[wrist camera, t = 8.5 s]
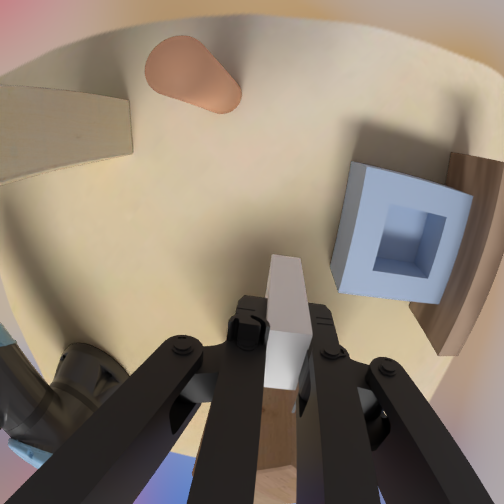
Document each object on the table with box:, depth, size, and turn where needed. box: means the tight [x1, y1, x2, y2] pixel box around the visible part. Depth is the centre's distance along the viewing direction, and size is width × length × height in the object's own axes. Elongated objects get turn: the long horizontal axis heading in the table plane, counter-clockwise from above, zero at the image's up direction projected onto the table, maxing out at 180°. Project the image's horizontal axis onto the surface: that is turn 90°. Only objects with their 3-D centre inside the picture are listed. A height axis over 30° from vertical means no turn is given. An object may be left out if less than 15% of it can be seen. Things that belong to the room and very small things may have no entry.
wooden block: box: [192, 382, 299, 504], centre depth 29 cm, size 10×10×20 cm
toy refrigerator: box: [0, 85, 133, 186], centre depth 20 cm, size 8×7×21 cm
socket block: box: [330, 161, 473, 304], centre depth 27 cm, size 12×12×6 cm
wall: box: [409, 152, 504, 356], centre depth 25 cm, size 3×20×10 cm, turn 173°
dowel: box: [145, 36, 242, 114], centre depth 21 cm, size 4×4×14 cm
